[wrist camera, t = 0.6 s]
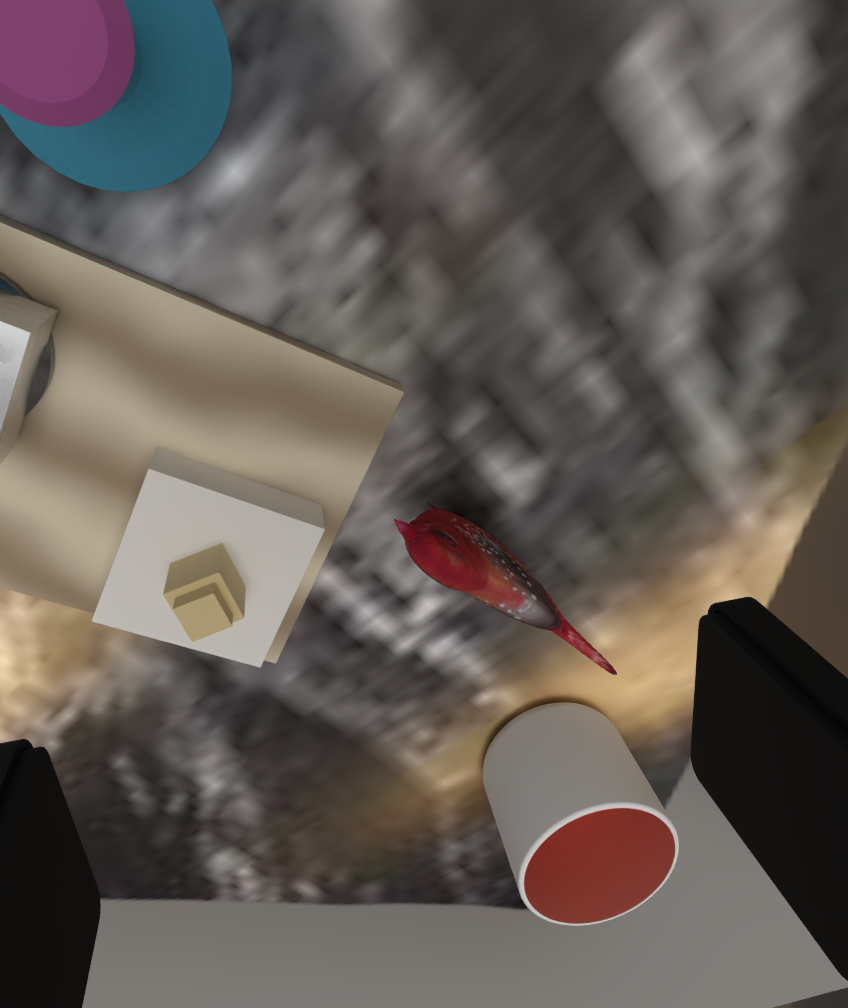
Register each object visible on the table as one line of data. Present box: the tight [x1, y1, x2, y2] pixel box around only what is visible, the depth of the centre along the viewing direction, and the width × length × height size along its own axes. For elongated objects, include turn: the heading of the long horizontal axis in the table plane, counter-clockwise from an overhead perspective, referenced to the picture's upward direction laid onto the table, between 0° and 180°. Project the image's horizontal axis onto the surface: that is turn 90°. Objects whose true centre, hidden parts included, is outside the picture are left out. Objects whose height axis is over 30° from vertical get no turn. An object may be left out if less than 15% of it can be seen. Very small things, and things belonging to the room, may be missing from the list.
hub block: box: [92, 447, 325, 667], centre depth 40 cm, size 9×9×7 cm
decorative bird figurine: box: [394, 503, 617, 675], centre depth 43 cm, size 3×18×10 cm, turn 48°
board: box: [0, 215, 404, 664], centre depth 40 cm, size 18×26×2 cm
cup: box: [483, 702, 679, 926], centre depth 51 cm, size 10×10×10 cm
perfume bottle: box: [0, 0, 232, 192], centre depth 28 cm, size 9×9×15 cm
